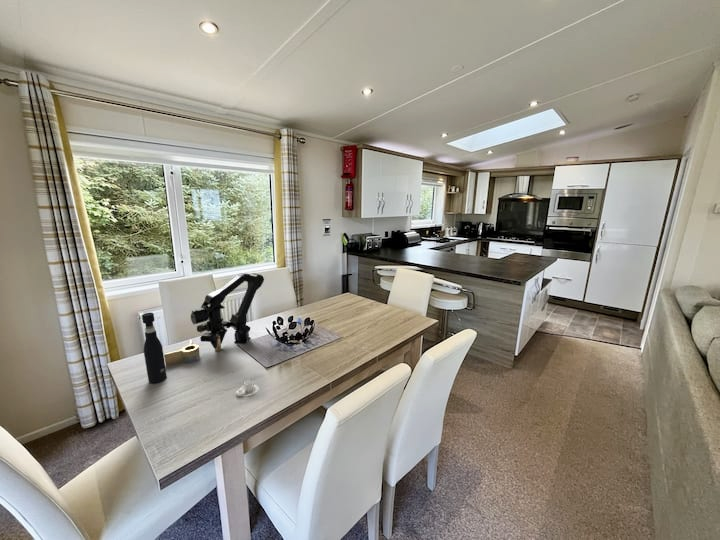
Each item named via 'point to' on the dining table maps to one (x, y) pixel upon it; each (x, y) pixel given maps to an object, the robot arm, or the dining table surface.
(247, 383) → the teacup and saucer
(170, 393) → the dining table surface
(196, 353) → the hinge
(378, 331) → the dining table surface
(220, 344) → the hinge pin
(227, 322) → the robot arm
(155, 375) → the black water bottle
